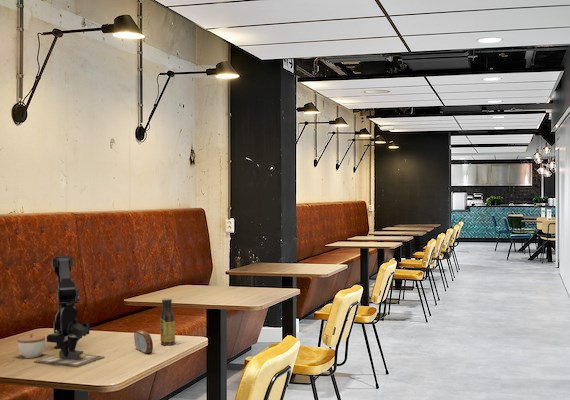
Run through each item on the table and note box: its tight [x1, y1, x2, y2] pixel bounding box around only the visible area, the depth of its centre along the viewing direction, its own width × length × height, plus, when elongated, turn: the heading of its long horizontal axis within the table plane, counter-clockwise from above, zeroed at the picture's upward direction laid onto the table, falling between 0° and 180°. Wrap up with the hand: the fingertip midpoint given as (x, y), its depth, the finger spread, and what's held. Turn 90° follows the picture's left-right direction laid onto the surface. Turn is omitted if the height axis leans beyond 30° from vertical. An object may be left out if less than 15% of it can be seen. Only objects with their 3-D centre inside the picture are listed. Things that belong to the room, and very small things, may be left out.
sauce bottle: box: [159, 297, 176, 346], centre depth 322 cm, size 6×6×20 cm
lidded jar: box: [17, 333, 46, 359], centre depth 305 cm, size 11×11×9 cm
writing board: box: [33, 354, 105, 368], centre depth 297 cm, size 22×16×1 cm
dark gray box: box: [54, 348, 87, 360], centre depth 297 cm, size 14×3×3 cm, turn 64°
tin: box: [133, 329, 154, 354], centre depth 309 cm, size 15×3×8 cm, turn 32°
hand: (69, 355), depth 297 cm, fingers closed on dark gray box, 3 cm apart
